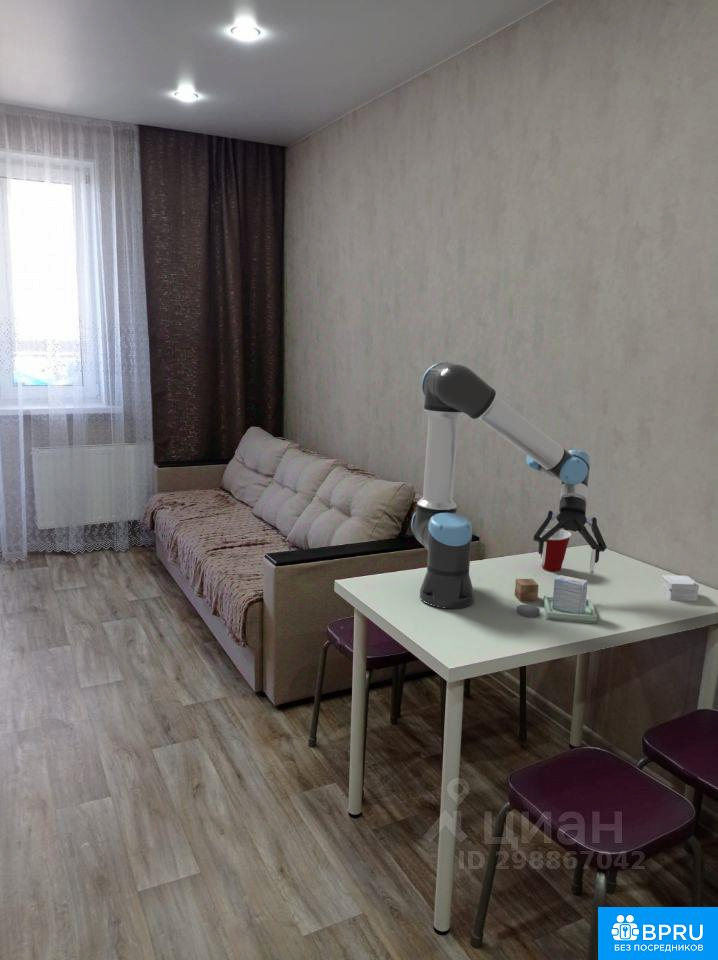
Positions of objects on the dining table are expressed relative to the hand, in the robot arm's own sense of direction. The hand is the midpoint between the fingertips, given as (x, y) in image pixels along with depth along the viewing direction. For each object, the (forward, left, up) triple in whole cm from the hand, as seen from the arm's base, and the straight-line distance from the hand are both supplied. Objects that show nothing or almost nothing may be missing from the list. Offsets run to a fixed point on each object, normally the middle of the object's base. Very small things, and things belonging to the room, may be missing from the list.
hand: (567, 568), depth 205 cm
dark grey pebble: (-11, -14, -9) cm, 20 cm away
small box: (+33, +9, -9) cm, 36 cm away
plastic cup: (-2, +25, -9) cm, 27 cm away
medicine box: (0, -11, -8) cm, 14 cm away
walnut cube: (-11, -3, -9) cm, 14 cm away
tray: (0, -11, -9) cm, 14 cm away
